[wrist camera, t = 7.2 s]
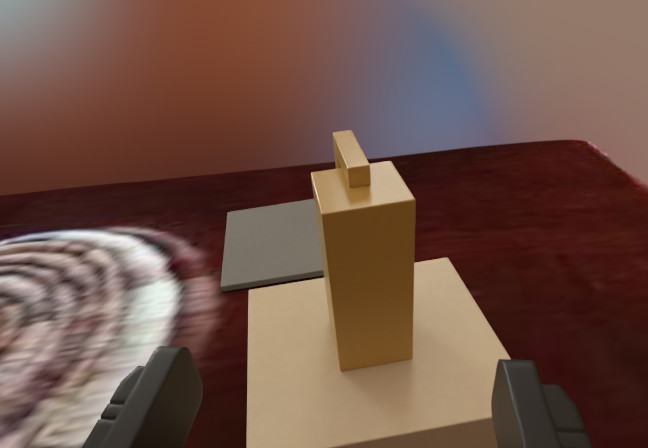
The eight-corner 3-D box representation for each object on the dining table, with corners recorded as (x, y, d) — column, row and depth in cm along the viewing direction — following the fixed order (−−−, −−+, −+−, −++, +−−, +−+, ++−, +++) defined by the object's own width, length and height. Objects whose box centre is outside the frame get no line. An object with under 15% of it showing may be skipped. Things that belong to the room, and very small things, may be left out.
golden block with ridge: (340, 372, 24) (318, 192, 18) (324, 295, 29) (303, 136, 23) (413, 359, 24) (416, 177, 18) (384, 285, 29) (379, 125, 23)
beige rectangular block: (261, 506, 22) (245, 463, 20) (258, 330, 32) (248, 289, 30) (528, 454, 23) (541, 407, 21) (444, 299, 33) (447, 256, 31)
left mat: (221, 292, 36) (220, 286, 36) (228, 216, 46) (227, 212, 46) (411, 261, 37) (411, 255, 37) (377, 193, 47) (377, 189, 47)
